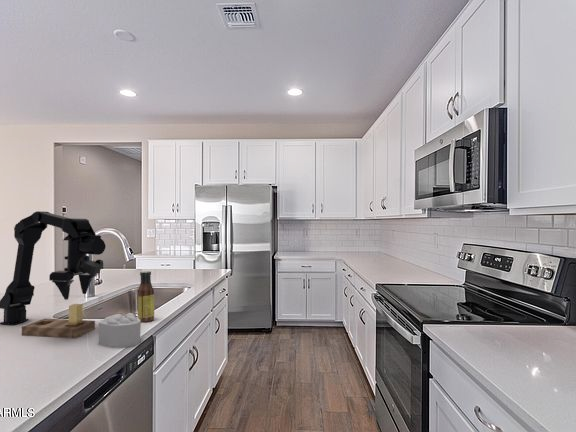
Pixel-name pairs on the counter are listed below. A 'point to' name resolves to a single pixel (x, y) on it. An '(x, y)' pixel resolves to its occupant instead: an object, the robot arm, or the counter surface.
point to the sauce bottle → (145, 298)
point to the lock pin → (75, 315)
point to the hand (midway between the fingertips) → (75, 296)
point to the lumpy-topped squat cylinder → (119, 331)
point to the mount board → (57, 328)
